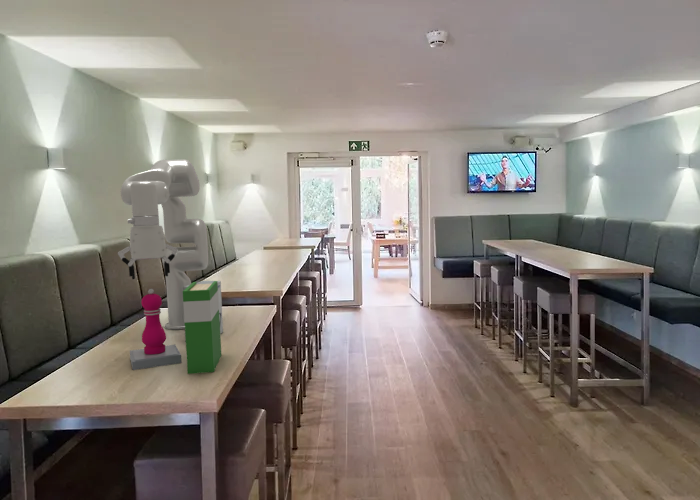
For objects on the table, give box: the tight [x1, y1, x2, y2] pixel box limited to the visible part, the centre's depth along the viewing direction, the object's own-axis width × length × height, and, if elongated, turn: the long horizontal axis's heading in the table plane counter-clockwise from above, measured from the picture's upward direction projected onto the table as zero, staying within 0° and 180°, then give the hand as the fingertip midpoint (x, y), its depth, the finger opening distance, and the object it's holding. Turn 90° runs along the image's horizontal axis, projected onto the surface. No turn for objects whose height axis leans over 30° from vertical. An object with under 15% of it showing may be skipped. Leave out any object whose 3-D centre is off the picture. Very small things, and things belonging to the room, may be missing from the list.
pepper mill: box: [140, 288, 167, 355], centre depth 170 cm, size 7×7×20 cm
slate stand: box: [129, 344, 183, 371], centre depth 171 cm, size 14×14×3 cm
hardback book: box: [183, 280, 222, 375], centre depth 165 cm, size 18×7×24 cm, turn 6°
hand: (150, 277), depth 169 cm, fingers open, 9 cm apart
